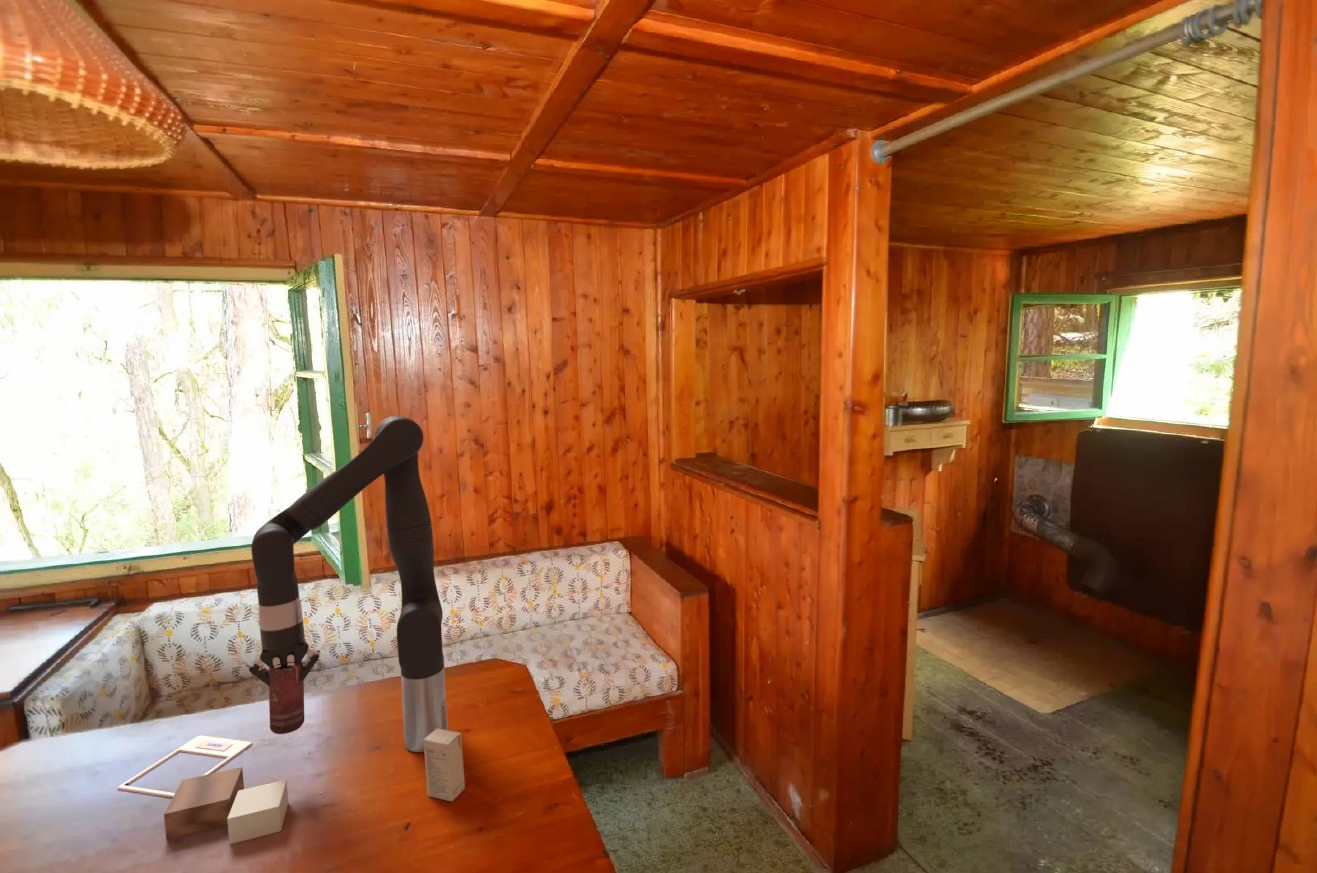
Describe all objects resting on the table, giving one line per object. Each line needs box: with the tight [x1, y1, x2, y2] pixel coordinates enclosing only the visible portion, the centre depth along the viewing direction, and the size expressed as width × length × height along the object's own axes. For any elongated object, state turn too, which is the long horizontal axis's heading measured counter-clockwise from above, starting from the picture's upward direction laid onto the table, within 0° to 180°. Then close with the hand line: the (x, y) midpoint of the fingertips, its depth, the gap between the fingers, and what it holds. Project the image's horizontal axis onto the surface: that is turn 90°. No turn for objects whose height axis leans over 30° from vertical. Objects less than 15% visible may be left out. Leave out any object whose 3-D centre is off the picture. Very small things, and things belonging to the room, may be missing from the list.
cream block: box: [227, 779, 289, 845], centre depth 114 cm, size 8×8×5 cm
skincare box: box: [423, 728, 466, 802], centre depth 122 cm, size 6×4×12 cm
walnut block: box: [163, 766, 245, 840], centre depth 117 cm, size 10×10×5 cm
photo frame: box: [117, 734, 253, 799], centre depth 132 cm, size 15×1×18 cm
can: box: [267, 660, 305, 735], centre depth 125 cm, size 6×6×14 cm
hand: (289, 701), depth 125 cm, fingers closed
